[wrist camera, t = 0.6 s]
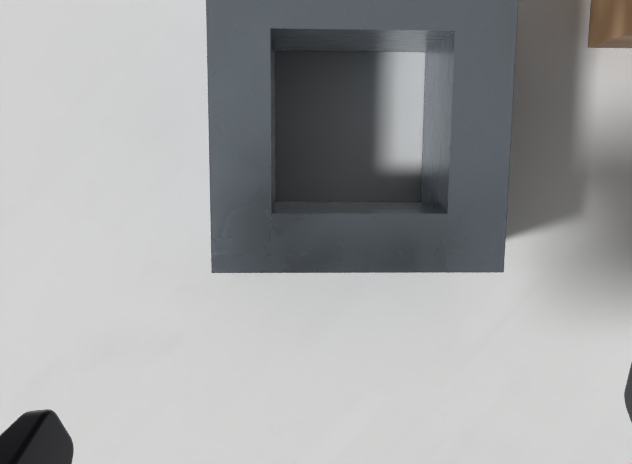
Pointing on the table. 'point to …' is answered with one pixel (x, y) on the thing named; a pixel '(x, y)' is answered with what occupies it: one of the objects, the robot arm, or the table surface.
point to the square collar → (438, 137)
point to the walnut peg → (610, 24)
